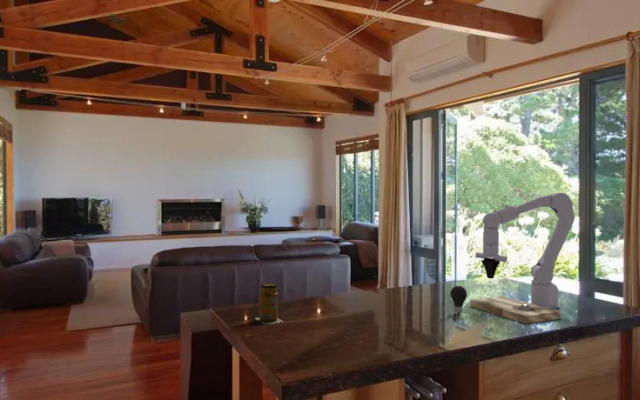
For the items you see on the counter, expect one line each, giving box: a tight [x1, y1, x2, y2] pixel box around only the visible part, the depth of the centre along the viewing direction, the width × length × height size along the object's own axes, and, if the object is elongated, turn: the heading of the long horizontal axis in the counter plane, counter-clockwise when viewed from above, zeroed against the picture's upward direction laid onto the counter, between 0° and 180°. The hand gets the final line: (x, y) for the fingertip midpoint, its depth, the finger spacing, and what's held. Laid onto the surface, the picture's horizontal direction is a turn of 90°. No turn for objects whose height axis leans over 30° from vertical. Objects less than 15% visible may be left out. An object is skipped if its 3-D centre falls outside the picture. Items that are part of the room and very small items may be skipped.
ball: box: [519, 304, 532, 311], centre depth 162 cm, size 4×4×4 cm
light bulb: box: [450, 285, 468, 315], centre depth 164 cm, size 6×6×10 cm
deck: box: [470, 296, 561, 325], centre depth 167 cm, size 16×26×2 cm, turn 24°
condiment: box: [254, 282, 284, 325], centre depth 153 cm, size 7×8×12 cm
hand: (490, 278), depth 181 cm, fingers closed
